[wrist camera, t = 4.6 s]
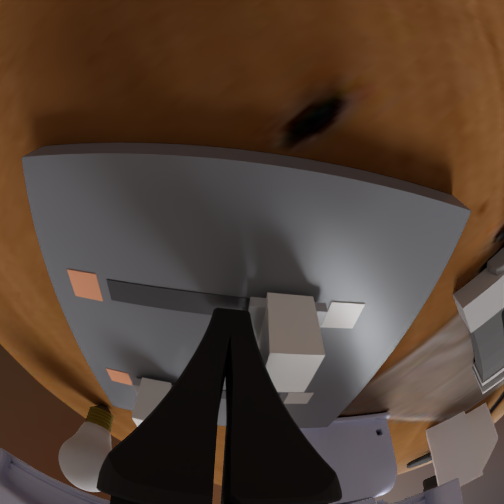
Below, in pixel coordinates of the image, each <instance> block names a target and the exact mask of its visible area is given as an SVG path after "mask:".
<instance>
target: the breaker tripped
mask: <svg viewBox="0 0 504 504" xmlns="http://www.w3.org/2000/svg"><path fill="white" fill-rule="evenodd" d="M248 312H249V313H250V315H251V322H252V327H253V331H254V335H255V338H256V340H258V348H259V350H260V353H261V356H262V359H263V361H264V364H265V366H266V369H267V371H268V373H269V376H270V378H271V380H272V382H273V384H274V386H275V388H276V390H277V392H304V391H305V390H306V388H307V386H308V385H309V383H310V381H311V380H312V378H313V376H314V374H315V373H316V371H317V369H318V367H319V366H320V364H321V362H322V360H323V358H324V357H325V351H324V346H323V341H322V336H321V331H320V328H321V326H322V324H323V322H324V319H325V317H326V315H327V312H328V311H327V307H326V303H318V302H314V298H313V296H302V295H290V294H279V293H269V292H267V296H266V298H259V297H250V302H249V308H248Z"/></svg>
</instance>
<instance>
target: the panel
mask: <svg viewBox="0 0 504 504" xmlns="http://www.w3.org/2000/svg"><path fill="white" fill-rule="evenodd" d="M22 164H23V171H24V178H25V184H26V189H27V195H28V200H29V205H30V209H31V214H32V218H33V222H34V226H35V230H36V234H37V238H38V241H39V245H40V248H41V252H42V255H43V258H44V261H45V264H46V267H47V270H48V273H49V276H50V279H51V282H52V285H53V287H54V290H55V293H56V295H57V298H58V300H59V303H60V305H61V308H62V310H63V312H64V315H65V317H66V319H67V322H68V324H69V326H70V328H71V330H72V333H73V335H74V337H75V339H76V341H77V343H78V345H79V347H80V349H81V351H82V353H83V355H84V357H85V359H86V361H87V362H88V364H89V366H90V368H91V370H92V372H93V373H94V375H95V377H96V379H97V380H98V382H99V384H100V385H101V387H102V389H103V390H104V392H105V394H106V395H107V397H108V398H109V400H110V402H111V403H112V405H113V406H115V407H119V408H123V409H127V410H131V411H133V410H134V406H135V402H136V398H137V395H136V393H135V390H134V388H133V386H132V382H133V379H134V378H137V379H142V377H143V378H148V379H153V380H159V381H164V382H170V383H171V385H174V384H175V382H176V381H177V380H178V378H179V377H180V375H181V374H182V372H183V371H184V369H185V368H186V366H187V364H188V363H189V361H190V360H191V358H192V356H193V355H194V353H195V351H196V349H197V347H198V346H199V344H200V342H201V340H202V338H203V336H204V334H205V332H206V330H207V327H208V325H209V323H210V320H211V317H212V314H213V310H214V309H215V308H226V309H235V310H244V311H248V308H249V302H250V297H259V298H266V296H267V292H269V293H279V294H290V295H302V296H313V298H314V302H318V303H326V307H327V311H328V312H327V315H326V317H325V319H324V322H323V324H322V326H321V328H320V331H321V336H322V341H323V346H324V351H325V357H324V358H323V360H322V362H321V364H320V366H319V367H318V369H317V371H316V373H315V374H314V376H313V378H312V380H311V381H310V383H309V385H308V386H307V388H306V390H305V391H304V392H278V394H279V396H280V398H281V400H282V402H283V403H284V405H285V407H286V409H287V410H288V412H289V413H290V415H291V417H292V418H293V420H294V421H295V423H296V424H297V426H298V427H299V428H321V427H328V426H329V425H330V424H331V423H332V422H333V421H334V420H335V419H336V418H337V417H338V416H339V415H340V414H341V413H342V412H343V410H344V409H345V408H346V407H347V406H348V405H349V404H350V403H351V402H352V401H353V399H354V398H355V397H356V396H357V395H358V394H359V393H360V391H361V390H362V389H363V388H364V387H365V386H366V384H367V383H368V382H369V381H370V379H371V378H372V377H373V376H374V375H375V373H376V372H377V371H378V370H379V368H380V367H381V366H382V364H383V363H384V362H385V361H386V359H387V358H388V357H389V355H390V354H391V353H392V351H393V350H394V348H395V347H396V346H397V344H398V343H399V341H400V340H401V339H402V337H403V336H404V334H405V333H406V331H407V330H408V328H409V327H410V325H411V324H412V322H413V321H414V319H415V318H416V316H417V315H418V313H419V312H420V310H421V308H422V307H423V305H424V303H425V302H426V300H427V298H428V297H429V295H430V293H431V292H432V290H433V288H434V286H435V285H436V283H437V281H438V279H439V278H440V276H441V274H442V272H443V270H444V268H445V266H446V264H447V263H448V261H449V259H450V257H451V255H452V253H453V251H454V249H455V246H456V244H457V242H458V240H459V238H460V236H461V234H462V231H463V229H464V227H465V225H466V222H467V220H468V218H469V215H470V213H471V210H470V209H469V208H467V207H466V206H465V205H464V204H463V203H461V202H460V201H459V200H458V199H457V198H455V197H454V196H453V195H450V194H447V193H444V192H441V191H437V190H434V189H431V188H428V187H424V186H421V185H418V184H414V183H411V182H407V181H403V180H400V179H396V178H392V177H388V176H384V175H380V174H376V173H372V172H368V171H364V170H359V169H355V168H350V167H346V166H341V165H336V164H331V163H326V162H321V161H315V160H310V159H304V158H298V157H292V156H285V155H279V154H272V153H265V152H257V151H249V150H241V149H231V148H221V147H210V146H198V145H182V144H162V143H84V144H65V145H51V146H42V147H40V148H38V149H36V150H34V151H32V152H30V153H29V154H27V155H25V156H23V157H22ZM256 341H257V345H258V340H256ZM217 425H221V426H226V380H225V381H224V386H223V392H222V397H221V403H220V408H219V414H218V423H217Z"/></svg>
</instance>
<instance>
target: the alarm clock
mask: <svg viewBox="0 0 504 504" xmlns="http://www.w3.org/2000/svg"><path fill="white" fill-rule="evenodd" d="M453 296H454V299H455V302H456V306H457V309H458V312H459V314H460V316H461V318H462V319H463V321H464V323H465V324H466V326H467V328H468V329H469V332H470V336H471V340H472V344H473V349H474V355H475V363H473V365H474V367H473V368H472V369H473V373H474V375H475V377H476V379H477V382H478V384H479V386H480V389H481V391H482V394H484V393H485V392H487V391H488V390H490V389H491V388H492V387H494V386H495V385H497V384H498V383H499V382H501V381H502V380H503V379H504V247H503V248H502V249H501V250H500V251H499V252H498V253H497V254H496V255H494V256H493V257H492V258H491V259H490V260H489V261H488V262H487V268H486V269H485V270H483V271H482V272H481V273H480V274H479V275H477V276H476V277H475V278H474V279H472V280H471V281H470V282H469V283H467V284H466V285H465V286H463V287H462V288H461V289H459V290H458V291H457V292H455V293H454V294H453Z"/></svg>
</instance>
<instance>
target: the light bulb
mask: <svg viewBox="0 0 504 504" xmlns="http://www.w3.org/2000/svg"><path fill="white" fill-rule="evenodd" d="M112 421H113V415H112V414H111V413H110V411H109V409H108V408H107V407H106V406H104V405H97V406H94V407H90V410H89V412H88V415H87V418H86V419H85V423H83V424H82V425H81V427H80V429H79V430H78V432H77V433H76V434H75V435H74V436H72V437H71V438H70V439H68V440H67V441H66V442H65V443H64V444H63V445H62V447H61V449H60V451H59V464H60V467H61V470H62V472H63V473H64V475H65V476H66V478H67V479H68V480H69V481H70V482H71V483H73V484H74V485H75V486H77V487H78V488H80V489H83V490H85V491H90V492H100V491H99V490H98V489H97V488H96V487H97V481H98V476H99V471H100V469H101V466H102V464H103V462H104V460H105V458H106V456H107V455H108V453H109V452H110V451H111V450H112V448H111V435H110V432H111V427H112V425H111V424H112Z"/></svg>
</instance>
